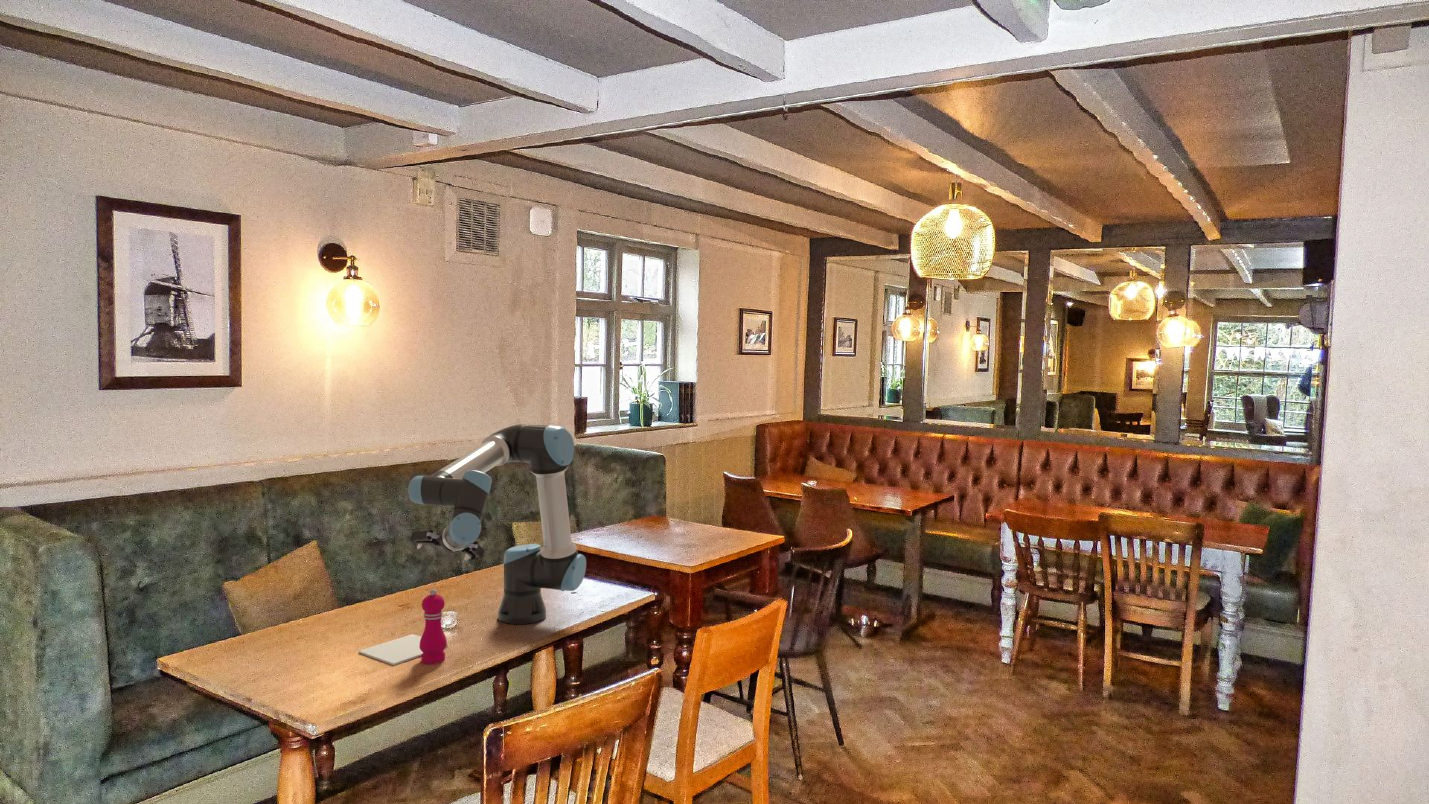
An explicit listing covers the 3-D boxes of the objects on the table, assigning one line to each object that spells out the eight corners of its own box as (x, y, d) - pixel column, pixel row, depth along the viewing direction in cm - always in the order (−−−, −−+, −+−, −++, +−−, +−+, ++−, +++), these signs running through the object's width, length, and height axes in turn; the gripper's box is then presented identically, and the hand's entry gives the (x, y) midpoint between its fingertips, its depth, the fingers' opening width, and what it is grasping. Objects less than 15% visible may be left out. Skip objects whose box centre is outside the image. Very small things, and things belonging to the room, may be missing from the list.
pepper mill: (452, 657, 239) (452, 587, 238) (435, 666, 233) (435, 594, 231) (430, 654, 242) (430, 584, 241) (413, 662, 235) (413, 591, 234)
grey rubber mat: (447, 647, 247) (447, 645, 247) (393, 665, 233) (393, 663, 232) (412, 635, 256) (412, 634, 256) (358, 652, 241) (358, 650, 241)
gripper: (404, 538, 222) (395, 551, 240) (498, 562, 230) (482, 573, 248) (413, 511, 225) (403, 525, 243) (505, 535, 233) (489, 548, 251)
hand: (443, 549), depth 246 cm, fingers open, 13 cm apart
